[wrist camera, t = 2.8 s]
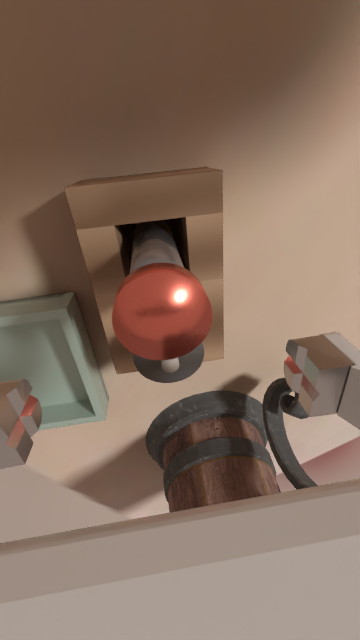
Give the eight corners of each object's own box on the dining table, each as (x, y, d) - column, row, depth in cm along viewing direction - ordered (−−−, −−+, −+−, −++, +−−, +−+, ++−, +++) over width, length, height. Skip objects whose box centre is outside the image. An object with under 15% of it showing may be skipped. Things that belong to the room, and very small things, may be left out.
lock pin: (123, 213, 21) (100, 281, 10) (174, 207, 21) (211, 267, 10) (132, 263, 23) (122, 366, 12) (179, 257, 23) (213, 353, 12)
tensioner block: (81, 180, 20) (45, 195, 12) (205, 166, 20) (240, 174, 13) (120, 339, 27) (113, 406, 20) (211, 326, 27) (235, 387, 20)
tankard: (223, 481, 43) (276, 697, 26) (123, 459, 37) (107, 719, 20) (333, 379, 34) (527, 611, 17) (223, 328, 28) (351, 604, 11)
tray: (-84, 312, 23) (-112, 332, 21) (74, 292, 24) (66, 308, 21) (-12, 416, 30) (-27, 440, 27) (108, 397, 31) (105, 419, 28)
